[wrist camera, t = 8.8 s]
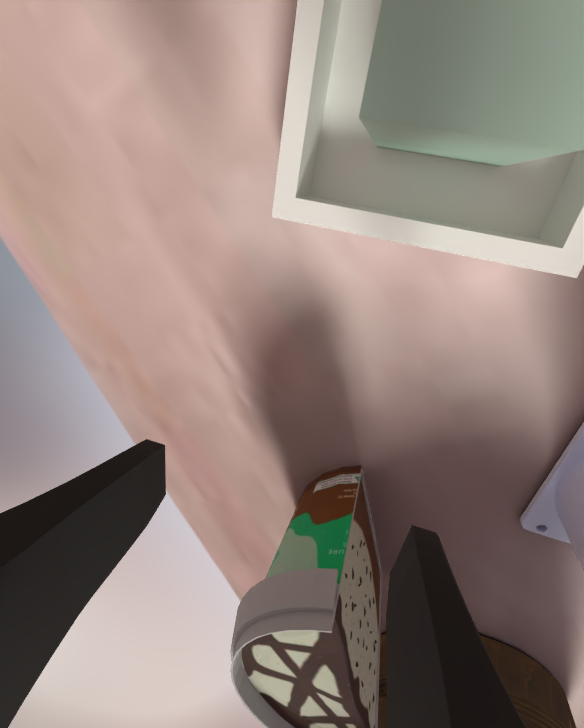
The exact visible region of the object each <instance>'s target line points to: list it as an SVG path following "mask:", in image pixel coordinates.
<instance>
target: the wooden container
mask: <svg viewBox="0 0 584 728" xmlns="http://www.w3.org/2000/svg"><path fill="white" fill-rule="evenodd" d="M480 638H481V640H482V642H483V644H484V646H485V648H486V650H487V652H488V655H489V657H490V659H491V661H492V663H493V665H494V667H495V669H496V671H497V673H498V675H499V677H500V679H501V681H502V683H503V685H504V687H505V689H506V691H507V693H508V694H509V696H510V698H511V700H512V702H513V704H514V706H515V708H516V710H517V712H518V713H519V715H520V717H521V719H522V721H523V723H524V724H525V726H526V728H576V726H575V722H574V719H573V716H572V713H571V710H570V707H569V704H568V701H567V698H566V696H565V694H564V691H563V689H562V688H561V686H560V684H559V683H558V681H557V680H556V679H555V678H554V677H553V676H552V675H551V674H550V672H548V671H547V670H546V669H545V668H544V667H543V666H541V665H540V664H539V663H537V662H536V661H534V660H533V659H531V658H530V657H528V656H527V655H525V654H523V653H522V652H520V651H518V650H516V649H514V648H512V647H510V646H508V645H506V644H503V643H501V642H498V641H496V640H493V639H490V638H487V637H484V636H481V635H480ZM378 728H387V635H386V633H384V634H382V635H380V666H379V698H378Z"/></svg>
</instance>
